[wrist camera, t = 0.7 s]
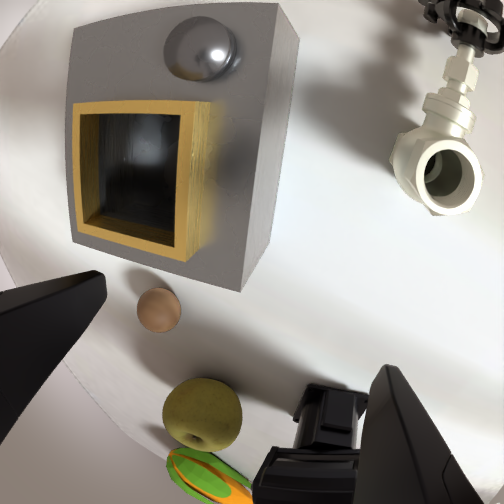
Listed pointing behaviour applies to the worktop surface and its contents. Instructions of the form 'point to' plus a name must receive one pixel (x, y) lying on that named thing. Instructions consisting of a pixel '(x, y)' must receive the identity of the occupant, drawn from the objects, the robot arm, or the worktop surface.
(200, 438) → the apple
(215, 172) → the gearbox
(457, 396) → the worktop surface
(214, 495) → the corn
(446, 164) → the valve
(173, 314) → the bead
